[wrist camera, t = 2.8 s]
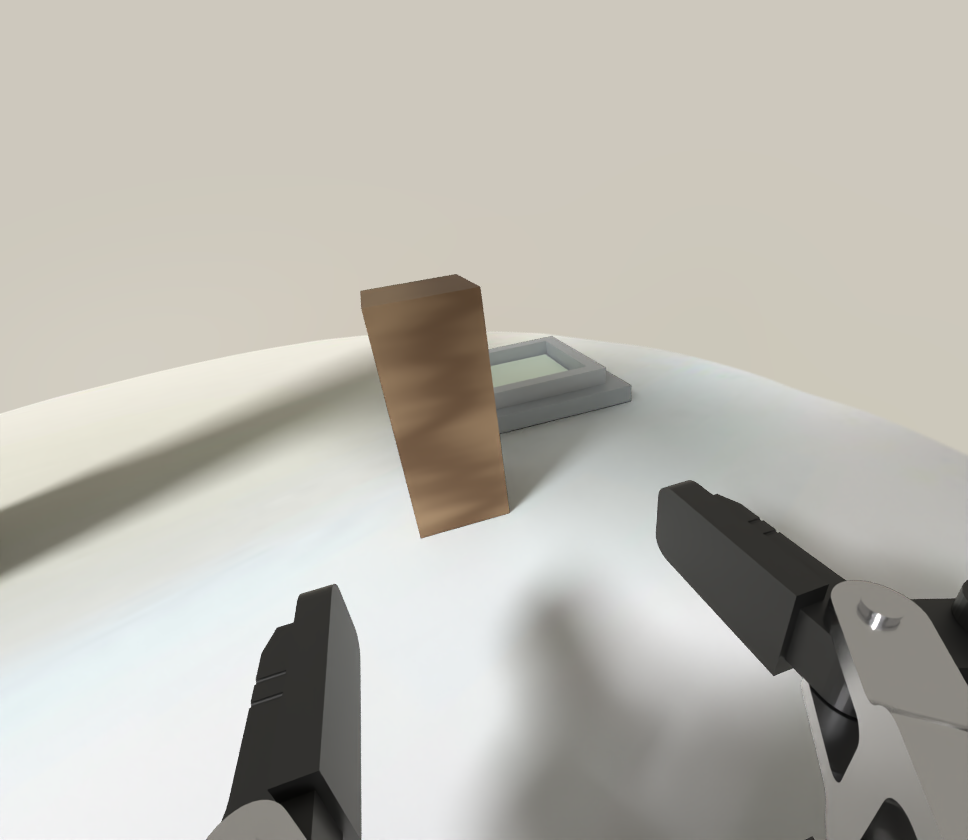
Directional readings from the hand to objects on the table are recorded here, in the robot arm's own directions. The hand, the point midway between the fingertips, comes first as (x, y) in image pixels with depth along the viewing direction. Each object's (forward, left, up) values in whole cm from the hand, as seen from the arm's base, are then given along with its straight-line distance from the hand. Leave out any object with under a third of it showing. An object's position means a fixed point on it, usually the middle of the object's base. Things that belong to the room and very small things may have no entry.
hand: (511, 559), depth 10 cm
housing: (-9, +22, -6) cm, 24 cm away
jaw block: (-7, +9, -6) cm, 13 cm away
